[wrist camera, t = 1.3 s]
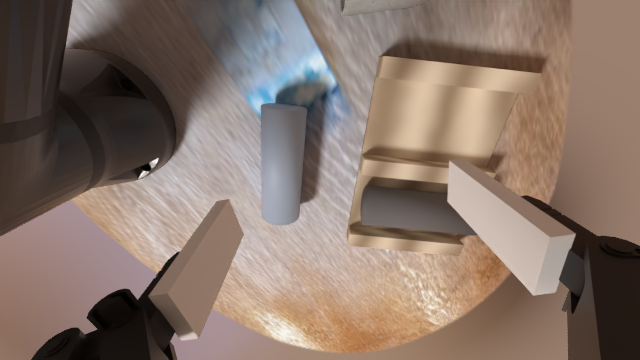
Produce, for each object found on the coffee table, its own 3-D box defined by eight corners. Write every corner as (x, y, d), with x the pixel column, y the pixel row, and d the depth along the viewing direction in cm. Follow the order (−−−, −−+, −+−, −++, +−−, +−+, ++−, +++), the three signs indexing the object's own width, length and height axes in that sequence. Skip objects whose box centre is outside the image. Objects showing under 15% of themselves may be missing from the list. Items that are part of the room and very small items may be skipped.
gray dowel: (299, 204, 35) (299, 225, 31) (263, 203, 34) (259, 224, 30) (306, 105, 29) (308, 113, 25) (263, 101, 28) (258, 109, 24)
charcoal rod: (360, 231, 31) (370, 213, 27) (359, 198, 34) (368, 177, 30) (466, 241, 32) (492, 225, 27) (456, 207, 34) (478, 188, 30)
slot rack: (346, 233, 36) (348, 245, 34) (379, 56, 26) (384, 55, 24) (450, 243, 37) (459, 255, 34) (522, 73, 27) (541, 73, 24)
